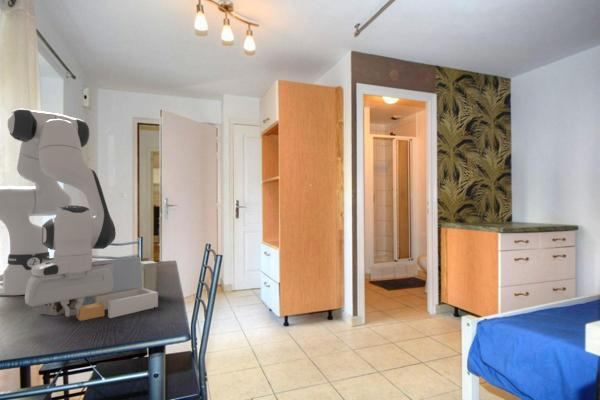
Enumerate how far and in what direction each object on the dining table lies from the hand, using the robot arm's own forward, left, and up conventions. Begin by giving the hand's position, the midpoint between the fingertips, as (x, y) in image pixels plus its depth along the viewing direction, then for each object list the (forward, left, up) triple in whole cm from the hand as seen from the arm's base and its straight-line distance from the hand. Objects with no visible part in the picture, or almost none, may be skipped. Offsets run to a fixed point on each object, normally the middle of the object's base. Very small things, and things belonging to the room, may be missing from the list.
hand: (72, 315), depth 91 cm
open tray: (0, +15, -2) cm, 15 cm away
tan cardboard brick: (0, +5, -2) cm, 5 cm away
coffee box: (-13, +2, -2) cm, 13 cm away
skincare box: (-9, +26, -2) cm, 27 cm away
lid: (-6, +15, +8) cm, 18 cm away
